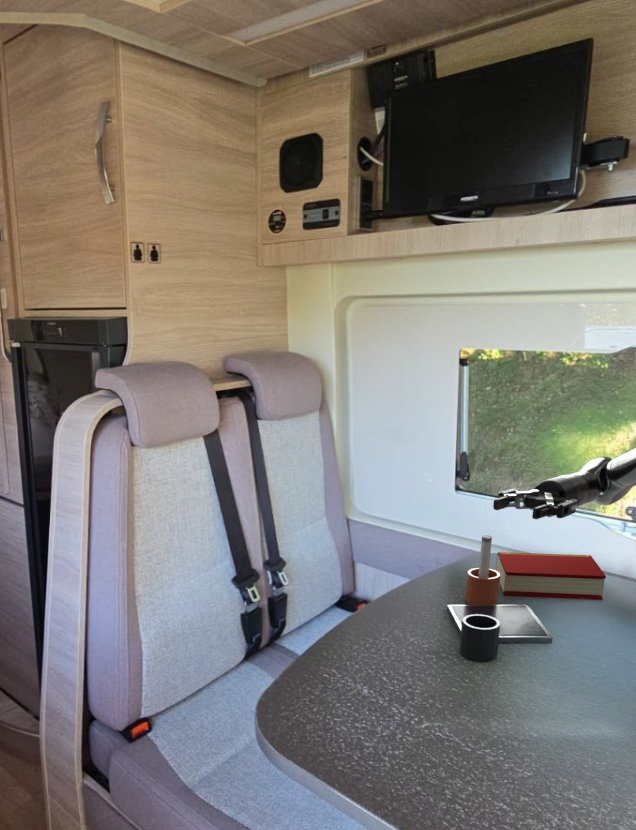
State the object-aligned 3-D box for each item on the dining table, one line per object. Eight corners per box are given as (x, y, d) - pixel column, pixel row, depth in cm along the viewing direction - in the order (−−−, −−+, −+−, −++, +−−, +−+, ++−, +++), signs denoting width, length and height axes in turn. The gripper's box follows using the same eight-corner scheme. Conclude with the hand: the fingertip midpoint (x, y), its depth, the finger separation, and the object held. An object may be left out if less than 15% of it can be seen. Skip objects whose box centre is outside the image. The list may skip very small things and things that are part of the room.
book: (586, 576, 152) (589, 553, 151) (602, 599, 141) (606, 576, 139) (495, 572, 156) (497, 550, 155) (503, 595, 145) (505, 572, 143)
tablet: (526, 609, 138) (527, 603, 138) (552, 642, 125) (553, 636, 125) (446, 609, 140) (447, 604, 139) (463, 642, 127) (464, 636, 126)
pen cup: (492, 595, 145) (495, 567, 143) (501, 607, 140) (504, 578, 137) (462, 595, 146) (464, 567, 144) (469, 607, 140) (471, 579, 138)
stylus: (484, 597, 143) (490, 535, 139) (487, 600, 142) (493, 538, 137) (475, 597, 144) (480, 535, 139) (477, 600, 142) (483, 538, 137)
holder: (491, 645, 125) (494, 614, 123) (501, 662, 120) (504, 629, 118) (456, 645, 126) (458, 614, 124) (464, 661, 120) (466, 629, 118)
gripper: (531, 471, 153) (484, 484, 145) (597, 482, 142) (550, 497, 134) (527, 505, 156) (481, 520, 148) (592, 519, 145) (546, 536, 136)
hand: (514, 509), depth 141 cm, fingers open, 8 cm apart
